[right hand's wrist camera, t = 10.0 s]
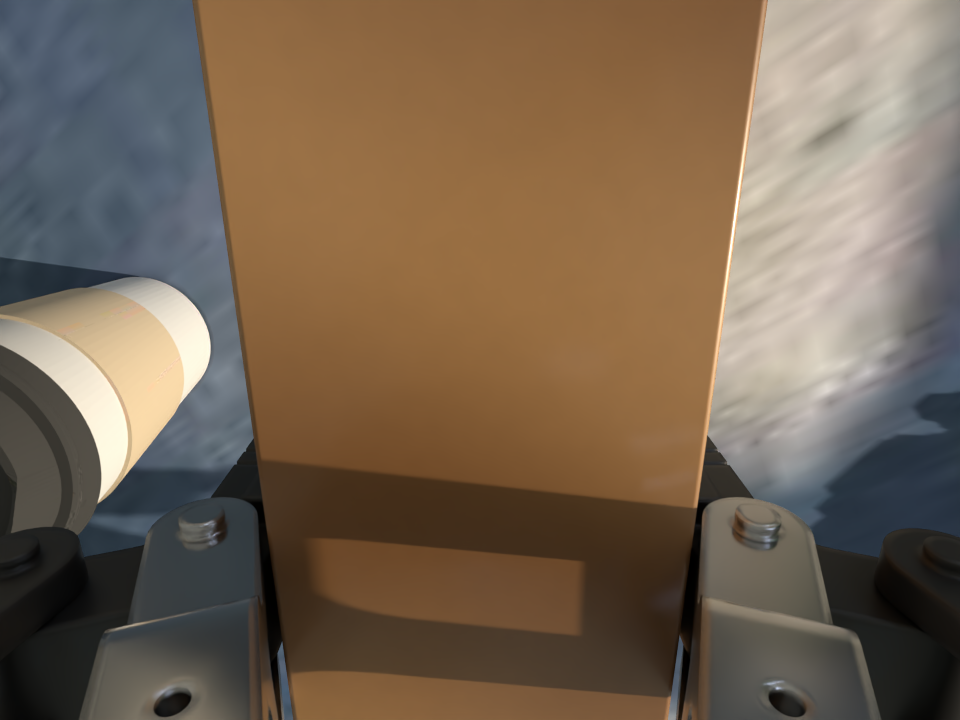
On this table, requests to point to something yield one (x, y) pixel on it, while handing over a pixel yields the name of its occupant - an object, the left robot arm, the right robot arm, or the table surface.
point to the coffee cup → (88, 393)
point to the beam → (480, 334)
